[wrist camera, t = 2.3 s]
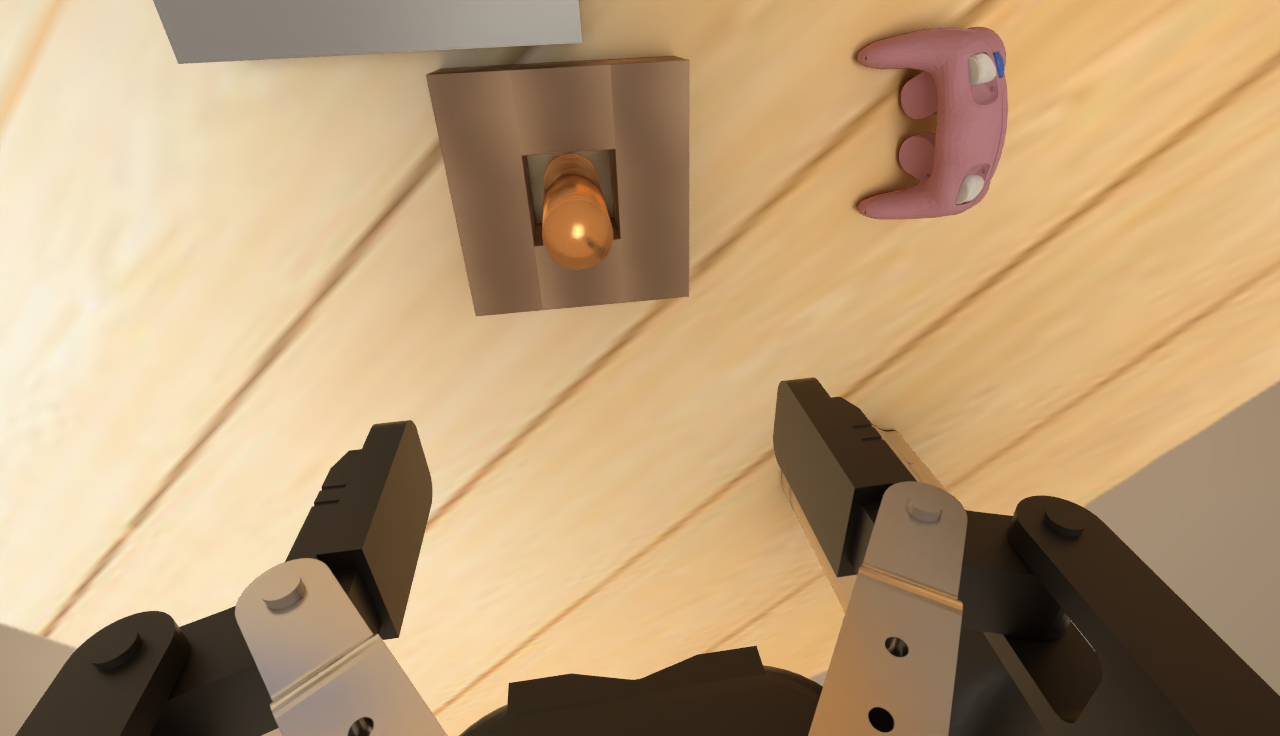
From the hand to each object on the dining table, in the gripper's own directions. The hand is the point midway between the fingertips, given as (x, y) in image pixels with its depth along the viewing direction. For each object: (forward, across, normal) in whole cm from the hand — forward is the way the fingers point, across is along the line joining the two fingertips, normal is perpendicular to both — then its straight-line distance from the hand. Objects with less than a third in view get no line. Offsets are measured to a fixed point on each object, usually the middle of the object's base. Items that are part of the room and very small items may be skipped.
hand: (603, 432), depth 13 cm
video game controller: (+24, -19, -2) cm, 31 cm away
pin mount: (+24, 0, 0) cm, 24 cm away
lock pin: (+24, 0, 0) cm, 24 cm away
